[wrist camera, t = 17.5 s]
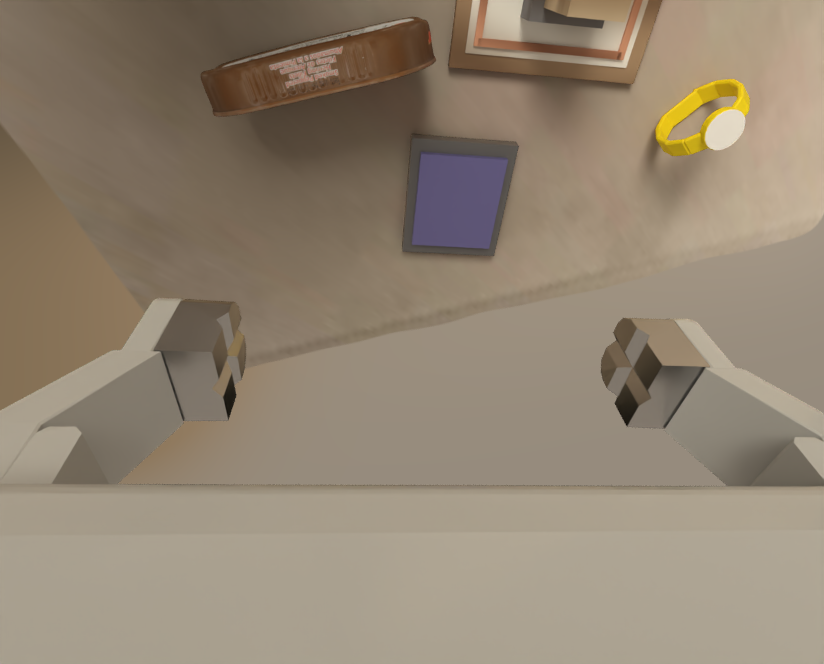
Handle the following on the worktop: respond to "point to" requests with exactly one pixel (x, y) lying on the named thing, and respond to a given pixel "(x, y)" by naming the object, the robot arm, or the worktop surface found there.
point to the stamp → (575, 11)
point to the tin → (319, 67)
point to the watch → (716, 128)
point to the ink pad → (456, 194)
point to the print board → (549, 42)
